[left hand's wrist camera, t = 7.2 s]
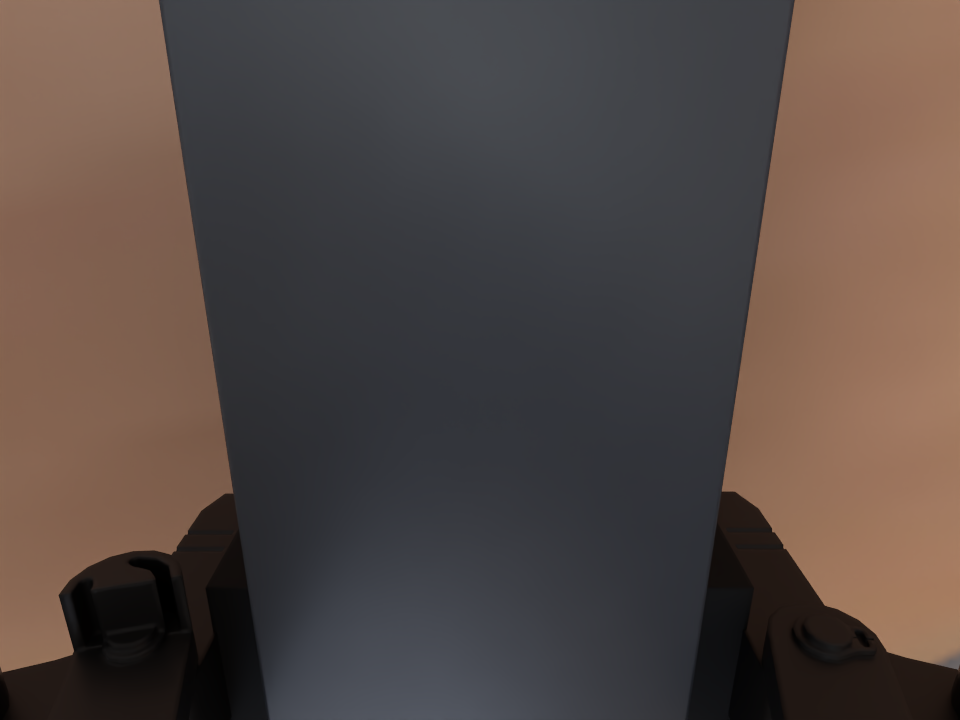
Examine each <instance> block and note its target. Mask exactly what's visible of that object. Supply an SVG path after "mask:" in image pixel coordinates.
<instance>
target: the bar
mask: <svg viewBox="0 0 960 720" xmlns="http://www.w3.org/2000/svg"><path fill="white" fill-rule="evenodd" d="M159 3H160V10H161V17H162V23H163V30H164V36H165V43H166V50H167V56H168V63H169V69H170V76H171V83H172V89H173V96H174V103H175V109H176V116H177V122H178V129H179V136H180V142H181V149H182V155H183V162H184V169H185V175H186V182H187V189H188V195H189V202H190V208H191V215H192V222H193V228H194V235H195V241H196V248H197V255H198V261H199V268H200V275H201V281H202V288H203V294H204V301H205V308H206V314H207V321H208V327H209V334H210V341H211V347H212V354H213V361H214V367H215V374H216V380H217V387H218V394H219V400H220V407H221V413H222V420H223V427H224V433H225V440H226V447H227V453H228V460H229V466H230V473H231V480H232V486H233V493H234V499H235V506H236V513H237V519H238V526H239V533H240V539H241V546H242V552H243V559H244V566H245V572H246V579H247V585H248V592H249V599H250V605H251V612H252V618H253V625H254V632H255V638H256V645H257V652H258V658H259V665H260V671H261V678H262V685H263V691H264V698H265V704H266V711H267V718H268V720H688V713H689V706H690V700H691V693H692V686H693V680H694V673H695V666H696V659H697V653H698V646H699V639H700V632H701V626H702V619H703V612H704V606H705V599H706V592H707V585H708V579H709V572H710V565H711V559H712V552H713V545H714V538H715V532H716V525H717V518H718V511H719V505H720V498H721V491H722V485H723V478H724V471H725V464H726V458H727V451H728V444H729V438H730V431H731V424H732V417H733V411H734V404H735V397H736V390H737V384H738V377H739V370H740V364H741V357H742V350H743V343H744V337H745V330H746V323H747V316H748V310H749V303H750V296H751V290H752V283H753V276H754V269H755V263H756V256H757V249H758V243H759V236H760V229H761V222H762V216H763V209H764V202H765V195H766V189H767V182H768V175H769V169H770V162H771V155H772V148H773V142H774V135H775V128H776V121H777V115H778V108H779V101H780V95H781V88H782V81H783V74H784V68H785V61H786V54H787V48H788V41H789V34H790V27H791V21H792V14H793V7H794V0H159Z"/></svg>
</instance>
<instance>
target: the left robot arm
mask: <svg viewBox="0 0 960 720" xmlns="http://www.w3.org/2000/svg"><path fill="white" fill-rule="evenodd" d="M59 598H60V602H61V605H62V609H63V612H64V616H65V620H66V623H67V627H68V630H69V634H70V638H71V641H72V645H73V648H74V653H73V655H71V656H68V657H64V658H61V659H58V660H54V661H50V662H46V663H41V664H37V665H33V666H28V667H24V668H20V669H16V670H11V671H7V672H3V673H2V671H1V668H0V720H268V718H267V711H266V704H265V698H264V691H263V685H262V678H261V671H260V665H259V658H258V652H257V645H256V638H255V632H254V625H253V618H252V612H251V605H250V599H249V592H248V585H247V579H246V572H245V566H244V559H243V552H242V546H241V539H240V533H239V526H238V519H237V513H236V506H235V499H234V494H224V495H223V496H221V497H220V498H219V499H217V500H216V501H215V502H213V503H212V504H210V505H209V506H208V507H206V508H205V509H203V510H202V511H201V512H200V514H199V515H198V517H197V518H196V520H195V521H194V523H193V524H192V526H191V527H190V529H189V530H188V535H185V536H184V537H183V539H182V540H181V542H180V543H179V545H178V546H177V551H176V552H173V554H172V555H170V554H166V553H162V552H158V551H133V552H128V553H124V554H120V555H116V556H112V557H109V558H107V559H105V560H103V561H100V562H98V563H96V564H94V565H91V566H89V567H88V568H86V569H85V570H83V571H82V572H81V573H79V574H78V575H77V576H75V577H74V578H72V579H71V580H70V581H69V582H68V584H67V585H66V586H65V587H64V589H63V590H62V591H61V593H60V594H59ZM688 720H960V666H959V669H958V670H957V669H952V668H948V667H944V666H939V665H935V664H931V663H926V662H922V661H918V660H914V659H909V658H905V657H902V656H898V655H895V654H892V653H888V652H887V651H886V649H885V648H884V646H883V645H882V643H881V642H880V640H879V639H878V637H877V636H876V634H875V633H873V632H872V631H871V630H870V629H869V628H867V627H866V626H865V625H864V624H863V623H861V622H860V621H859V620H857V619H855V618H853V617H851V616H849V615H848V614H846V613H844V612H842V611H840V610H838V609H835V608H831V607H827V606H825V605H824V604H823V602H822V601H821V600H820V598H819V597H818V595H817V594H816V592H815V591H814V589H813V588H812V586H811V585H810V583H809V582H808V580H807V579H806V578H805V576H804V575H803V573H802V572H801V570H800V569H799V567H798V566H797V564H796V563H795V561H794V560H793V559H792V557H791V556H790V554H789V553H788V551H787V550H786V549H783V544H782V542H781V541H780V540H779V538H778V537H777V535H776V534H775V532H772V528H771V526H770V525H769V523H768V522H767V521H766V519H765V518H764V516H763V515H762V513H761V512H760V510H759V509H758V508H757V507H755V506H754V505H753V504H751V503H750V502H748V501H747V500H746V499H744V498H743V497H741V496H740V495H739V494H737V493H736V492H721V498H720V505H719V511H718V518H717V525H716V532H715V538H714V545H713V552H712V559H711V565H710V572H709V579H708V585H707V592H706V599H705V606H704V612H703V619H702V626H701V632H700V639H699V646H698V653H697V659H696V666H695V673H694V680H693V686H692V693H691V700H690V706H689V713H688Z"/></svg>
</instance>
